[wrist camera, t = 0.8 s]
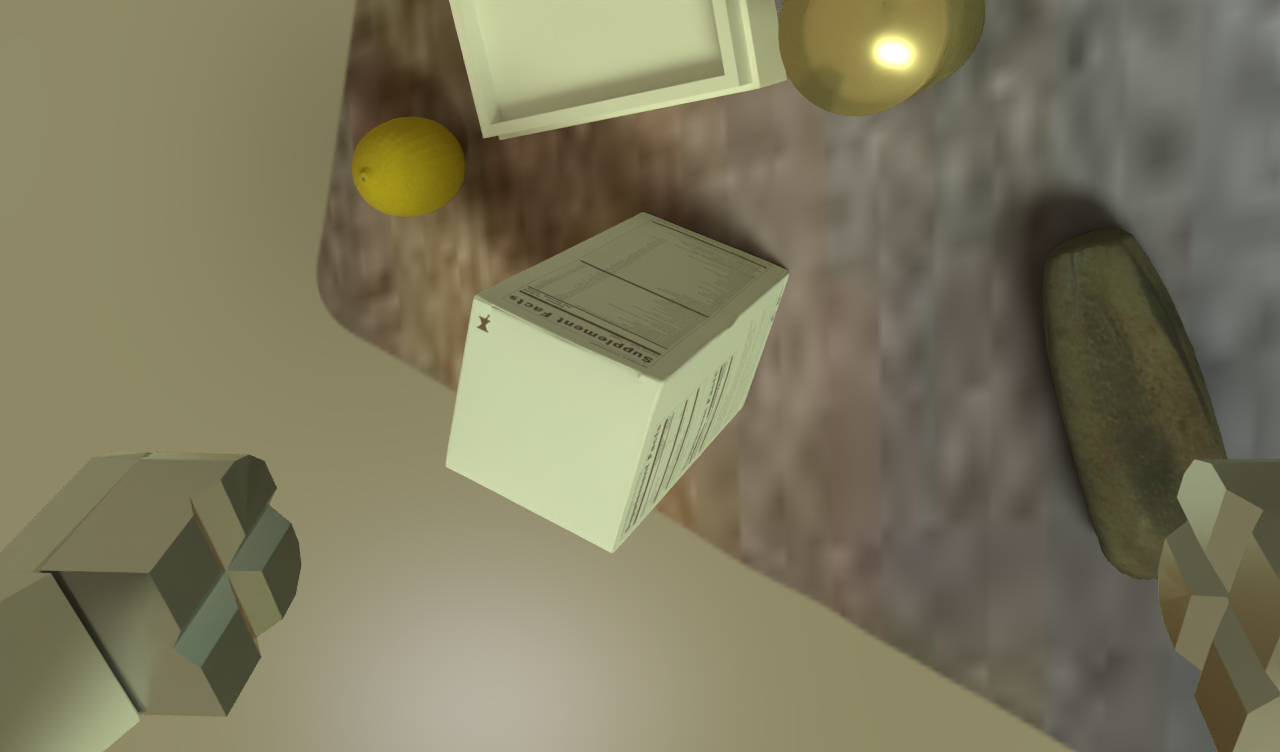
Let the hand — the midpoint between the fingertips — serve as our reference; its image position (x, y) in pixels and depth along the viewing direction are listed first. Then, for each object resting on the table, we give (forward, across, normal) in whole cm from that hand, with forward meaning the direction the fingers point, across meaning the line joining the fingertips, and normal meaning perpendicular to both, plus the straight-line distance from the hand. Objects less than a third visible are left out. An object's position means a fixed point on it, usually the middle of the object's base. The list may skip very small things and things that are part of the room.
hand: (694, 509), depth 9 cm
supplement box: (+40, +5, +21) cm, 46 cm away
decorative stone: (+34, -17, +22) cm, 44 cm away
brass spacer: (+40, -7, +6) cm, 41 cm away
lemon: (+47, +19, +14) cm, 53 cm away
